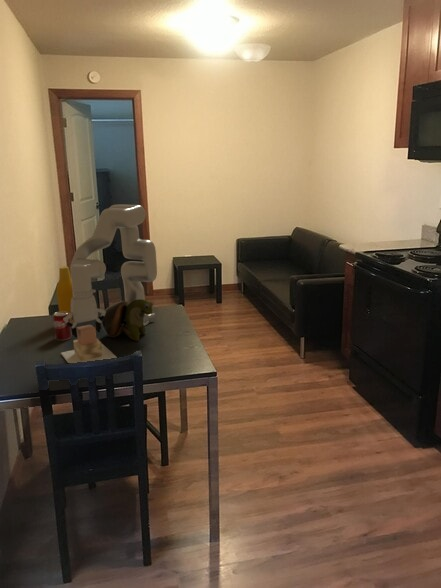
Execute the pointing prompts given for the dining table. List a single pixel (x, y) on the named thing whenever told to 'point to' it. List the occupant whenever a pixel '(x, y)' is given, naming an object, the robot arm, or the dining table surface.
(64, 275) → the beer bottle
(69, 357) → the plate
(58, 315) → the soda can
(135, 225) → the robot arm
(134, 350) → the dining table surface
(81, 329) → the pink cube
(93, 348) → the maple block
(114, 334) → the brown green figure
